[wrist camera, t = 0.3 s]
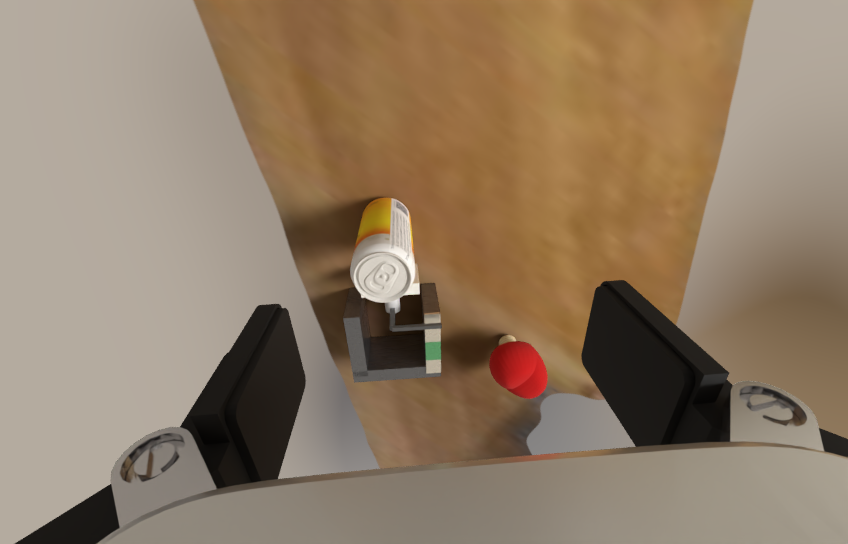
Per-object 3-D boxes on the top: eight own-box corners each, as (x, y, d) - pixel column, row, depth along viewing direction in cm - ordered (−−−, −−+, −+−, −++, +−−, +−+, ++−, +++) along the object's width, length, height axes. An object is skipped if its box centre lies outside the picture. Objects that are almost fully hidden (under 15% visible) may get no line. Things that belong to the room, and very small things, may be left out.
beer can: (353, 225, 46) (336, 287, 33) (378, 185, 44) (370, 236, 31) (394, 248, 48) (393, 315, 35) (419, 211, 46) (428, 269, 33)
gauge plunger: (363, 266, 48) (357, 299, 42) (435, 262, 49) (441, 293, 42) (367, 300, 51) (363, 335, 44) (435, 296, 51) (441, 330, 45)
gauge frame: (349, 288, 51) (342, 320, 44) (435, 283, 51) (440, 314, 45) (358, 348, 56) (354, 384, 50) (436, 342, 57) (441, 378, 50)
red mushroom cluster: (469, 337, 57) (482, 386, 48) (502, 308, 54) (522, 355, 46) (508, 364, 60) (527, 415, 51) (541, 339, 58) (566, 387, 49)
